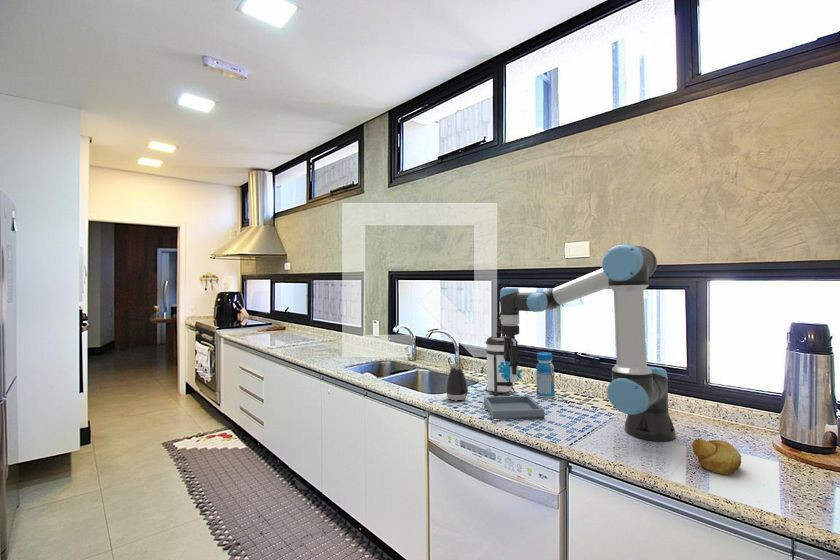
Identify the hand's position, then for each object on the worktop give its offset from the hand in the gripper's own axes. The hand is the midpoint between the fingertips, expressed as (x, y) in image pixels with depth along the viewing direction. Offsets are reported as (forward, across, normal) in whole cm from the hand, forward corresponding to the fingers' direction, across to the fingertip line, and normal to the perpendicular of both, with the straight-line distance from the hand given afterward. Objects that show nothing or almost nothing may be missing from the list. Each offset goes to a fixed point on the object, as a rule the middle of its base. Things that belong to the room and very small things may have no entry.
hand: (511, 379), depth 162 cm
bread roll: (+13, +53, +46) cm, 71 cm away
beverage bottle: (+13, -21, +21) cm, 33 cm away
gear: (+1, 0, 0) cm, 1 cm away
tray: (+13, 0, 0) cm, 13 cm away
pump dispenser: (+14, -19, -21) cm, 31 cm away
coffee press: (+13, -28, +2) cm, 31 cm away
